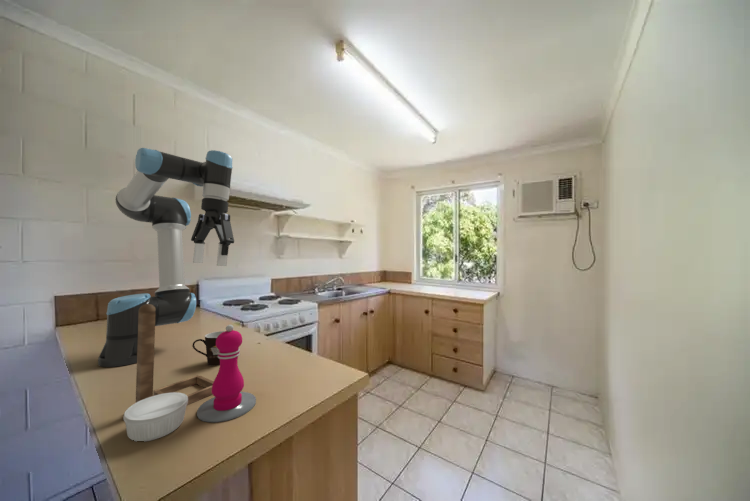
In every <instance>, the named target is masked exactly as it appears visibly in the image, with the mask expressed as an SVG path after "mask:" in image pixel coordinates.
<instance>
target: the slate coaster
mask: <svg viewBox="0 0 750 501" xmlns="http://www.w3.org/2000/svg"><path fill="white" fill-rule="evenodd" d="M240 393H241V394H242V401H241V403H240V404H239V405H238V406H237V407H235V408H233V409H230V410H226V411H218V410H215V409H214V407H213V406H214V399H215V398H216V397H215V396H213V397H211V398H210V399H208V400H206V401H205V402H203V403H202V404H201V405H200V406H199V407H198V408H197V409H196V410H197V412H196V417H197V418H198V420H199V421H201V422H206V423H221V422H227V421H228V422H229V421H231V420H235V419H237V418H240V417H242V416H243V415H246V414H247V413H248V412H251V411H252V410H253V408H254V407H255V406H256V404H257V398H256V396H255V395H254V393H251V392H248V391H241V392H240Z"/></svg>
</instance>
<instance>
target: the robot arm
mask: <svg viewBox="0 0 750 501" xmlns="http://www.w3.org/2000/svg"><path fill="white" fill-rule="evenodd" d="M134 160H135V162H134V163H135V164H134V165H135V169H136V170H137V171H136V173H135V174H134V176H133V177H132V178H131V180H130V181H129V183H128V184H127V186H126V187H123V188H121V189H119V191H118V192H117V194H116V195H115V204H116V207H117V208H118V210H119V211H120V212H121V213H122V214H123V215H124V216H126V217H127V218H129V219H131V220H134V221H137V222H141V223H149V224H151V226H152V229H153V230H154V231H156V235H157V238H156V239H157V260H158V288H157V290H155V291H154V296H151V294H150V293H147V292H146V293H145V292H144V293H143V292H142V293H134V294H128V295H124V296H118V297H116V298H112V299H111V300H110V301H109V302H108V303H107V310H106V313H105V314H106V331H105V332H106V333H105V335H106V338H105V343H104V345H103V347H102V349H101V352H100V354H99V356H98V359H97V360H98V361H97V363H98V366H99V367H101V368H102V367H103V368H108V367H109V368H113V367H122V366H128V365H133V364H137V346H138V316H139V308H140V307H141V306H143V305H145V304H151V305H153V306H154V307H155V309H156V310H155V327H160V326H165V325H166V326H167V325H174V324H180V323H184V322H187V321H188V322H189V321H190V320H191V319H192V318H193V316H194V315H195V312H196V308H197V297H196V295H195V293H194V292H190V291H191V290H190V288H189V287H188V286H187V285H186V279H185V276H186V275H185V262H184V258H185V257H184V244H183V242H184V241H183V231H184V230H186V229H187V226H189V225H190V223H191V222H192V221H191V220H192V219H191V218H192V213H191V208H190V205H189V203H188V202H187V201H185V200H184V199H181V198H177V197H168V196H161V195H156V194H157V192H158V191H159V190H160V189H161V188H162V187H163V185H164V184H165V183H166V182H167V181H168V180H169V179H170V180H176V181H179V182H181V181H182V182H187V183H192V184H193V185H195V186H197V187H202V197H203V198H202V199H201V206H200V207H201V210H202V211H204V213H203V214H202V213H199V214H198V218H197V222H196V224H195V228H194V230H193V233H192V236H191V239H190V241H191V242H193V244H194V248H193V249H194V250H193V259H192V263H193V264H203V263H204V253H205V244H206V242H205V240H206V239H207V237H208V235H209V233H210V231H211V230H213V229H214V230H215V232H216V235H217V237H218V238H217V239H218V240H219V242H218V250H217V261H216V267H217V266H218V267H227V264H228V256H229V247H230V245H231V244H234V243H235V239H234V237H235V236H234V235H233V234H234V233H233V228H232V223H231V214H229V202H228V201H229V199H230V189H231V181H232V174H233V172H232V171H233V157H232V156H231V155H230V154H228V153H226V152H224V151H220V150H212V149H211V150H208V151H207V153H206V156H205V161H203V162H201V161H198V160H193V159H191V158H186V157H183V156H179V155H175V154H171V153H167V152H163V151H159V150H157V149H151V148H147V147H146V148H145V147H140V148H138V149H137V151H136V154H135V159H134Z"/></svg>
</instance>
